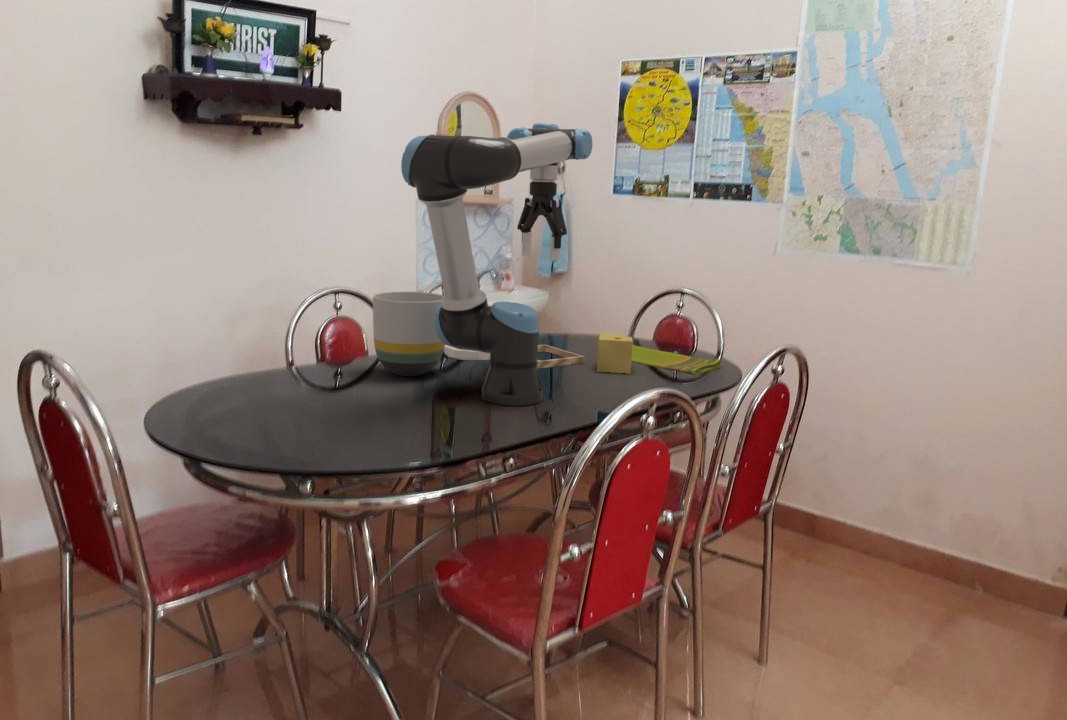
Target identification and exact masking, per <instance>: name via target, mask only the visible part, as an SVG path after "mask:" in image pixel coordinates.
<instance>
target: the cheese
mask: <svg viewBox="0 0 1067 720" xmlns="http://www.w3.org/2000/svg"><path fill="white" fill-rule="evenodd" d="M596 344H597V345H596V347H597V349H596V350H597V361H596V362H597V364H596V366H597V367H596V371H597V373H606V372H610V373H609V374H622V373H626V374H625V375H631V372H632V370H631V369H632V347H633V345H634V341H633V336H625V335H623V334H617V333H611V332H610V333H609V332H598V335H597V343H596Z"/></svg>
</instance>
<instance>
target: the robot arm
mask: <svg viewBox="0 0 1067 720" xmlns="http://www.w3.org/2000/svg"><path fill="white" fill-rule="evenodd" d="M592 137H593V136H592V134H591V132H590V131H589V130H587V129H581V128H580V129H579V128H560V127H559V125H558V124H555V123H547V122H546V123H544V122H537V123H536V122H535V123H534V124H533V125H532V128H526V127H515V128H513V129H511V130H510V131H509V132H508V134H507V136H506V137H503V136H502V137H497V138H496V137H495V138H494V137H485V136H484V137H482V136H475V135H474V136H472V135H441V134H440V135H437V134H432V133H431V134H428V135H418V136H416V137H414V138H412V139H411V140H410V141H409V142H408V143H407V145H406V146H405V148H404V152H403V153H402V156H401V157H402V158H401V162H400V163H401V164H400V167H401V169H400V170H401V174H402V177H403V181H404V182H405V183H406V184H407V185H408V186H411V187H412V188H415V189H416V194H417V199H418V200H419V201H420V202H421V203H423V204H424V205H426V209H427V210H426V211H427V214H428V219H429V225H430V230H431V235H432V239H433V240H432V241H433V244H434V249H435V255H436V259H437V264H438V269H439V273H440V274H439V275H440V278H441V284H442V289H443V294H444V295H443V296H444V297H443V298H442V299H441V301H440V305H439V307H438V308H437V311H436V314H435V315H436V318H435V320H434V323H435V330H436V333H437V335H438V337H439V339H440V340H441V341H442V342H443V343H444V345H448V346H451V347H454V348H457V349H467V350H473V351H479V352H485V353H490V360H489V369H488V371H487V373H486V377H485V379H484V384H483V385H482V387H481V398H482V400H484V401H485V402H489V403H491V404H496V405H499V406H500V405H501V406H513V407H516V406H517V407H518V406H531V405H536V404H538V403H540V402H542V401H543V396H544V390H543V387H542V383H541V380H540V375H539V372H538V369H537V359H538V354H539V352H538V345H539V335H540V334H539V332H540V322H539V321H540V319H539V313H538V312H537V310H536V309H535V308H533V307H531V306H528V305H526V304H523V303H519V302H509V301H496V302H493V303H492V305H491V306H490V305H488V298H487V294H486V293H485V291H482V290H481V289H480V288H479V283H478V277H477V272H476V267H475V260H474V255H473V248H472V243H471V239H470V232H469V227H468V222H467V215H466V210H465V204H464V200H463V199H464V197H465V196H466V194H467V193H468V190H474V189H475V190H476V189H480V188H485V187H488V186H493V185H495V184H498V183H503V182H506V181H510V180H512V179H514V178H516V177H517V176H518V174H519V173H522V172H525V171H529V170H530V172H529V174H530V175H529V179H530V180H531V181H530V183H529V195H530V196H532V197H525V199H524V206H523V209H522V211H521V215H520V218H519V221H518V224H517V230H519V231H520V232H521V256H526V257H527V256H528V257H529V256H532V238H533V234H532V228H533V227H534V225H535V223H536V221H537V219H538V218H539V217H540V216H543V217H544V218H545V220H546V222H547V224H548V227H549V228H550V229H549V230H550V231H551V233H552V235H551V236H550V248H549V249H550V250H549V253H550V255H549V260H550V261H560V257H561V256H560V253H561V247H562V237H563V236H566V235H567V234H568V231H567V227H566V222H565V218H564V213H563V210H562V201H561V199H554V197H556V196H557V193H558V192H557V190H558V183H556V182H555V181H557V180H558V165H559V162H565V161H569V160H576V161H579V160H586V159H588V158H589V157H590V156H591V153H592V151H593V145H594V144H593V138H592Z"/></svg>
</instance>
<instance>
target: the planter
mask: <svg viewBox="0 0 1067 720" xmlns="http://www.w3.org/2000/svg"><path fill="white" fill-rule="evenodd" d="M444 296H445V295H443V294H439V293H433V292H425V291H388V292H380V293H375V294H374V295H373V297H372V327H373V344H374V350H375V351H374V352H375V354H376V357H377V360H378V361H379V363H380V364H381V365H382V366H383V367H384V369H386V370H387V371H389V372H391V373H392V374H395V375H398V376H402V377H415V376H416V377H418V376H422V375H425V374H426V373H429V372H430V371H431V370H433V368H435V367H436V366H437V365H438V364H439V362H440V361H441V358H442V356H443V353H444V346H445V344H444V343H443V342H442V341H441V340H440V339H439V337H438V335H437V333H436V330H435V323H434V320H435V318H436V315H435V314H436V311H437V308H438V307H439V305H440V301H441V299H442V298H443V297H444Z"/></svg>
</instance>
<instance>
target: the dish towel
mask: <svg viewBox="0 0 1067 720" xmlns="http://www.w3.org/2000/svg"><path fill="white" fill-rule="evenodd" d="M632 361H633V363H636V364H640V363H641V365H646V366H651V367H655V368H659V369H666V370H669V371H676V372H678V373H679V372H680V373H685V374H690V375H695V376H697V375H701V374H704V373H708V372H713V371H715V370H718V369H720V368H721V361H722V360H721V359H719V358H714V359H713V358H712V359H705V358H699V357H695V356H689V355H685V354H679V353H676V352H669V351H663V350H658V349H652V348H648V347H644V346H638V345H636V344H633V347H632Z"/></svg>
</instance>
